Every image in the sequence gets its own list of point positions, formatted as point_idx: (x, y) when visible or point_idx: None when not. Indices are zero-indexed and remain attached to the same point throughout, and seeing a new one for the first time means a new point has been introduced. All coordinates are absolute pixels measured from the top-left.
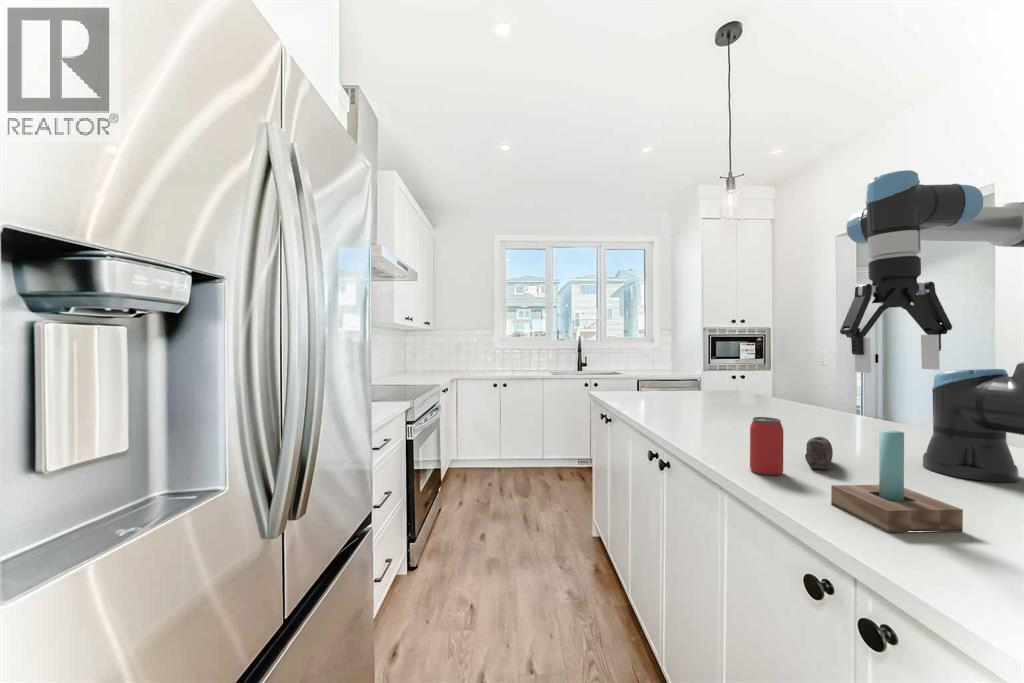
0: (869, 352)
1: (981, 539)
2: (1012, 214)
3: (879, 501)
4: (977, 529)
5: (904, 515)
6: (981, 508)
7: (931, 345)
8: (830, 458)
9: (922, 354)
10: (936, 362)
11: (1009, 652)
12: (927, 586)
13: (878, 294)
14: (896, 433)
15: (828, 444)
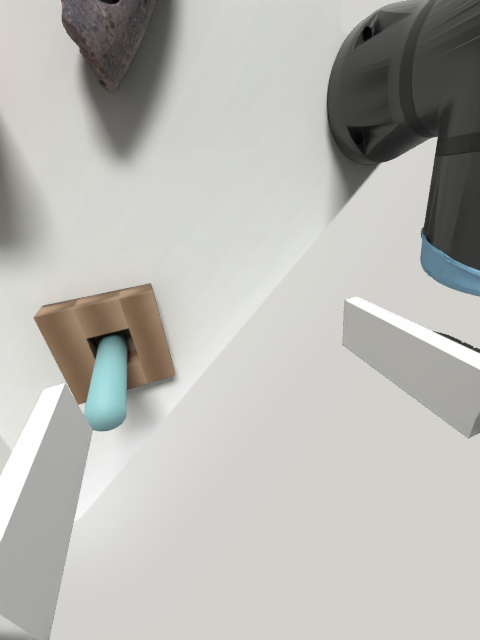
0: (68, 521)
1: (176, 374)
2: None
3: (83, 374)
4: (193, 349)
5: None
6: (249, 281)
7: (419, 385)
8: (120, 80)
9: (388, 326)
10: (361, 357)
11: None
12: None
13: None
14: (105, 429)
15: (124, 34)
